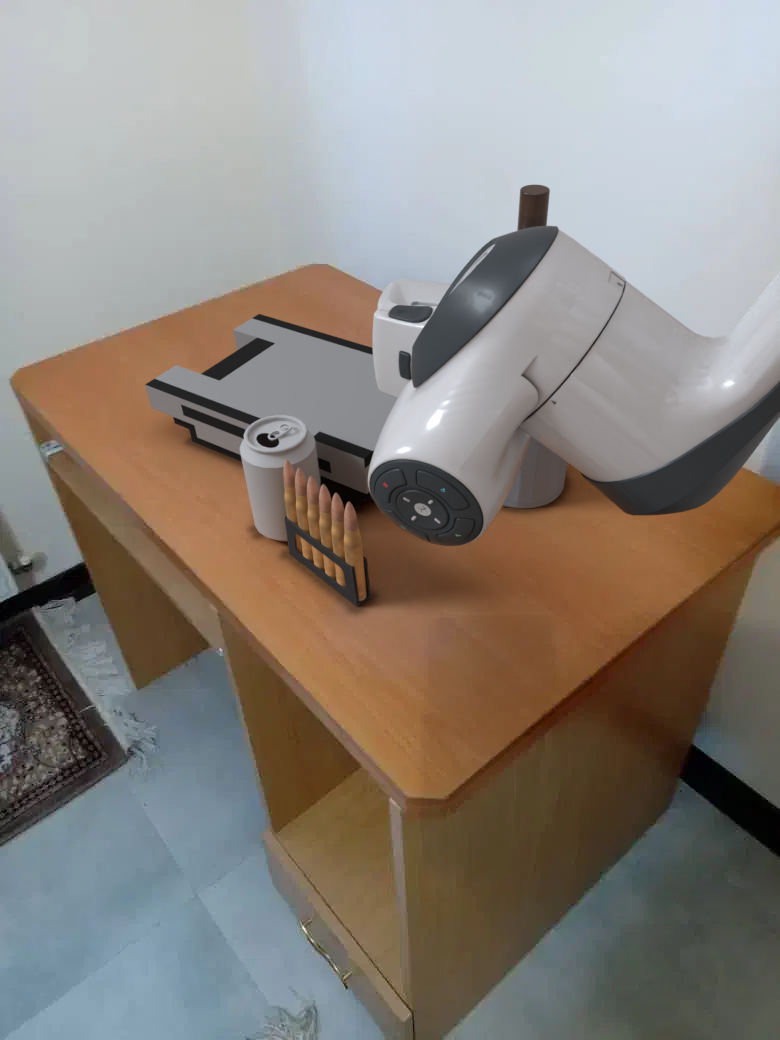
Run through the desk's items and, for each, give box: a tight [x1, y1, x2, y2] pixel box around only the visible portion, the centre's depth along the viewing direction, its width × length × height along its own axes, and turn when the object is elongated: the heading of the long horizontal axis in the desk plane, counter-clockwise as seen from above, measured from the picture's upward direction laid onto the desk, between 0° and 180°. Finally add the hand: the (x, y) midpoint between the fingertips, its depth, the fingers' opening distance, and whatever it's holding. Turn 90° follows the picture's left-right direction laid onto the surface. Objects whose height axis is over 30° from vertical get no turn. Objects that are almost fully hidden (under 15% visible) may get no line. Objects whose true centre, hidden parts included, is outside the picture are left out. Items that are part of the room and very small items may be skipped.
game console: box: [144, 313, 398, 509], centre depth 95 cm, size 21×32×8 cm, turn 56°
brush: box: [516, 184, 551, 231], centre depth 65 cm, size 3×3×18 cm
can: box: [240, 415, 321, 542], centre depth 81 cm, size 8×8×12 cm
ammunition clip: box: [283, 459, 372, 607], centre depth 75 cm, size 11×2×12 cm, turn 43°
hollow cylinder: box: [502, 437, 568, 509], centre depth 85 cm, size 10×10×11 cm
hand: (528, 285), depth 65 cm, fingers closed on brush, 2 cm apart
